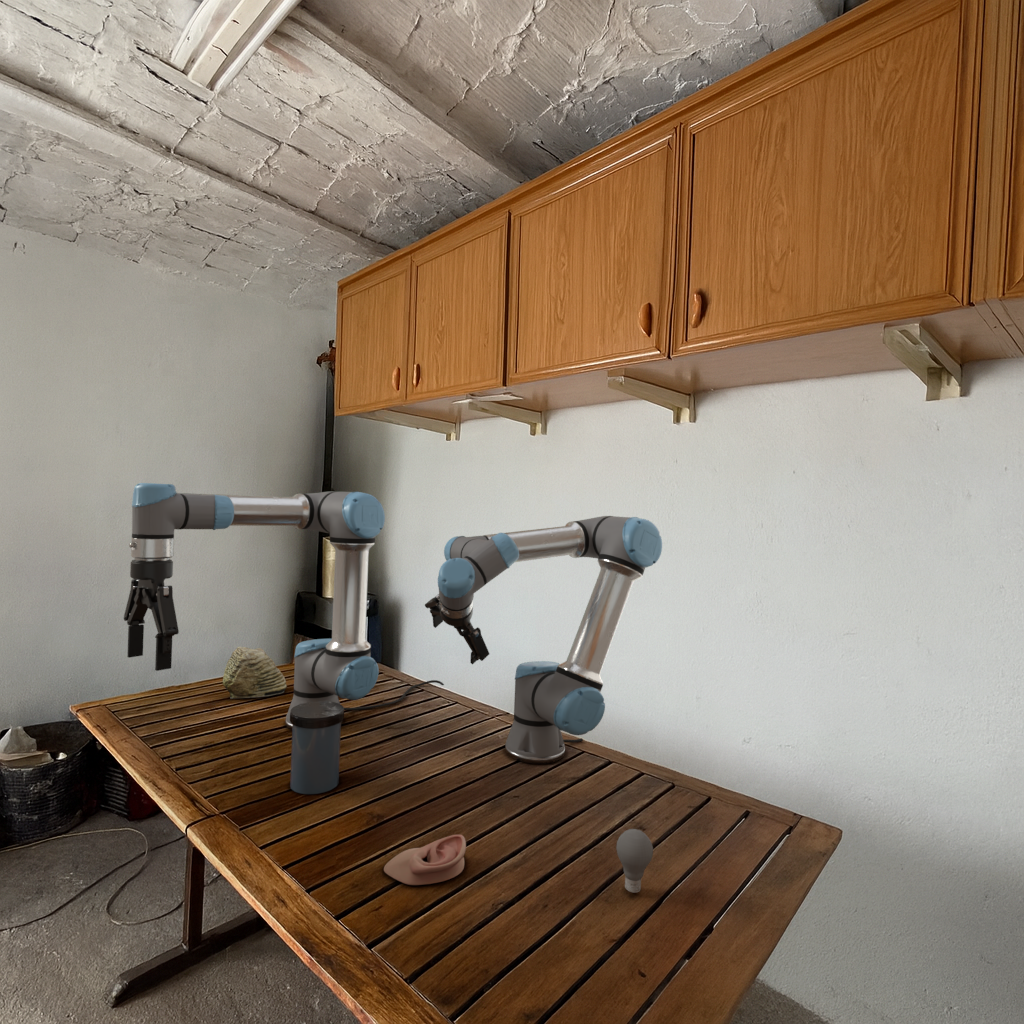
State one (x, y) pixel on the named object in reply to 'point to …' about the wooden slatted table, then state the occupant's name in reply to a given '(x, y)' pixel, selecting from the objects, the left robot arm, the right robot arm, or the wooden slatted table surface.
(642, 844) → the light bulb
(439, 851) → the anatomical model
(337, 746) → the jar
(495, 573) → the right robot arm
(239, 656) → the fossil
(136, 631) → the left robot arm
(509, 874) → the wooden slatted table surface
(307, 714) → the lid
